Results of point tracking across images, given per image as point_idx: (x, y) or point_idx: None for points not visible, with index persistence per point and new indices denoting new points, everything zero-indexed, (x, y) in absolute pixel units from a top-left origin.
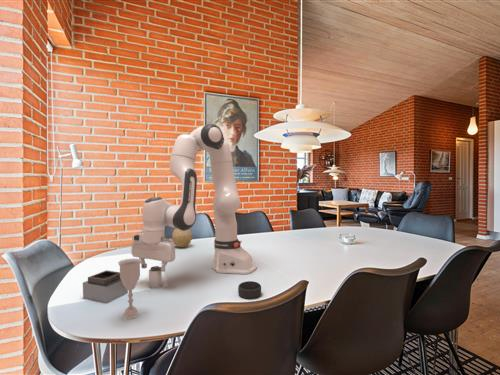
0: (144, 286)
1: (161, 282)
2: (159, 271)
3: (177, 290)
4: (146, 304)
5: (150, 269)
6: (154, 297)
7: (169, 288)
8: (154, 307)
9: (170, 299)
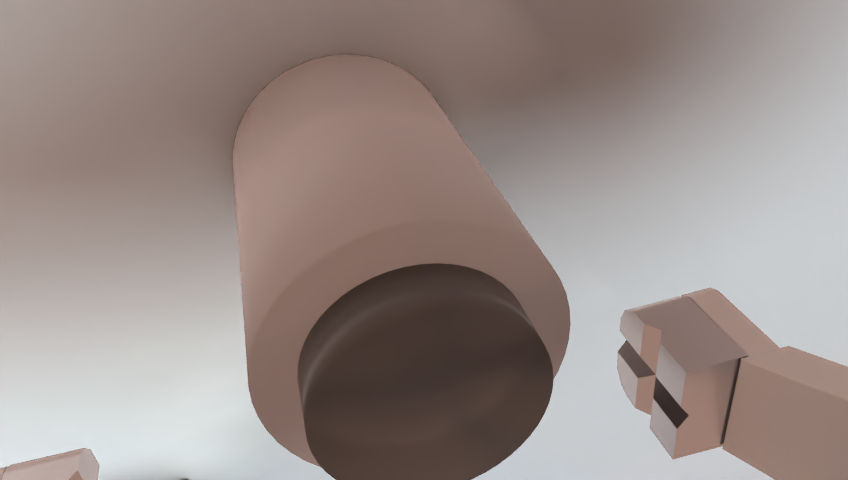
0: (173, 257)
1: (456, 130)
2: (560, 329)
3: (773, 87)
4: (628, 475)
5: (271, 407)
6: (603, 368)
7: (619, 96)
8: (731, 461)
9: (799, 303)
